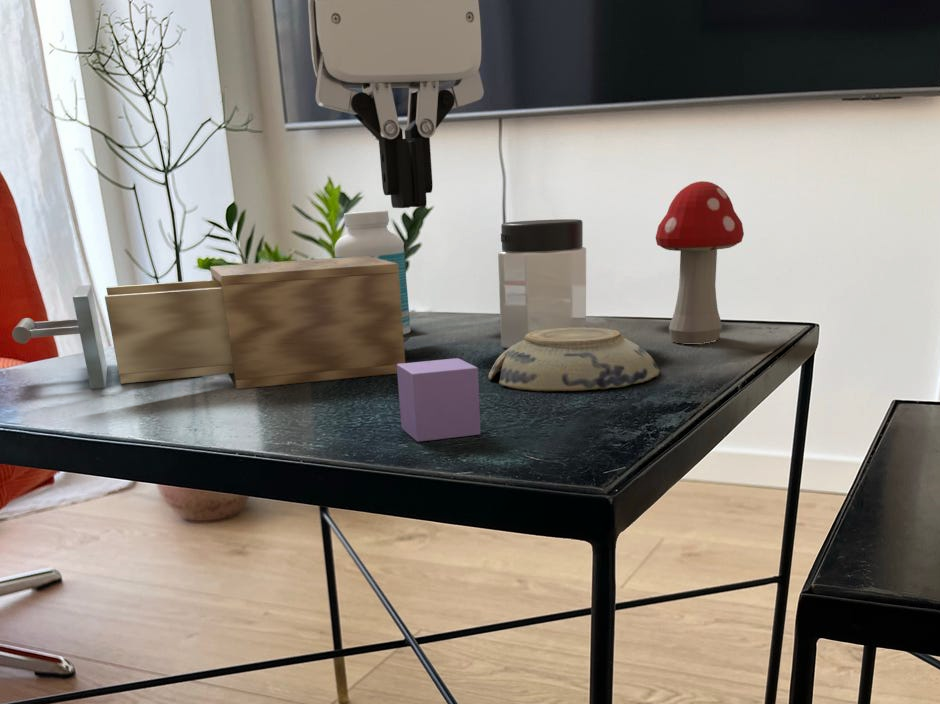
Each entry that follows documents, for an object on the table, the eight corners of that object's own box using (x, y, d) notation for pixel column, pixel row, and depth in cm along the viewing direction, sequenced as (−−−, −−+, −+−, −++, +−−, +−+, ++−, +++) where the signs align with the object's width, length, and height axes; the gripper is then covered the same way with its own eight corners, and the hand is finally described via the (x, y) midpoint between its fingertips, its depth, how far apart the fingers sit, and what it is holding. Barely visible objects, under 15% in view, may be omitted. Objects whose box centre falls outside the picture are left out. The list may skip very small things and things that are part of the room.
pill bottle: (401, 336, 117) (392, 209, 111) (418, 344, 110) (409, 209, 105) (337, 342, 115) (325, 212, 109) (351, 351, 108) (338, 214, 102)
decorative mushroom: (661, 332, 110) (665, 182, 104) (742, 333, 108) (751, 178, 102) (644, 347, 102) (648, 184, 96) (732, 348, 99) (742, 180, 93)
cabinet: (236, 389, 91) (220, 275, 87) (224, 368, 101) (210, 266, 98) (406, 372, 95) (398, 263, 91) (376, 353, 106) (368, 255, 102)
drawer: (23, 398, 86) (1, 302, 83) (33, 376, 96) (14, 290, 93) (260, 375, 91) (248, 284, 88) (247, 357, 101) (236, 275, 98)
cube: (417, 442, 69) (412, 374, 68) (401, 428, 73) (396, 363, 72) (481, 434, 71) (478, 367, 69) (461, 421, 75) (458, 357, 73)
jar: (523, 338, 111) (520, 220, 106) (594, 340, 108) (594, 218, 103) (490, 351, 104) (485, 225, 99) (565, 353, 100) (564, 223, 96)
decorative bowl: (695, 375, 88) (581, 354, 99) (697, 331, 86) (581, 315, 98) (562, 403, 80) (455, 377, 91) (562, 355, 79) (453, 335, 90)
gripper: (485, -114, 64) (497, 200, 72) (247, -120, 60) (287, 213, 68) (526, -150, 58) (535, 200, 65) (263, -159, 54) (305, 215, 61)
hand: (408, 206), depth 67 cm, fingers closed
